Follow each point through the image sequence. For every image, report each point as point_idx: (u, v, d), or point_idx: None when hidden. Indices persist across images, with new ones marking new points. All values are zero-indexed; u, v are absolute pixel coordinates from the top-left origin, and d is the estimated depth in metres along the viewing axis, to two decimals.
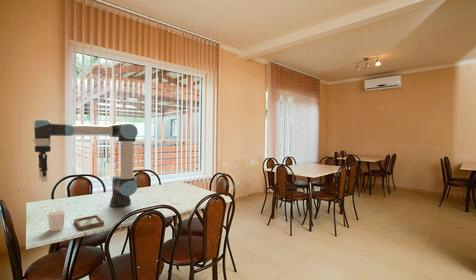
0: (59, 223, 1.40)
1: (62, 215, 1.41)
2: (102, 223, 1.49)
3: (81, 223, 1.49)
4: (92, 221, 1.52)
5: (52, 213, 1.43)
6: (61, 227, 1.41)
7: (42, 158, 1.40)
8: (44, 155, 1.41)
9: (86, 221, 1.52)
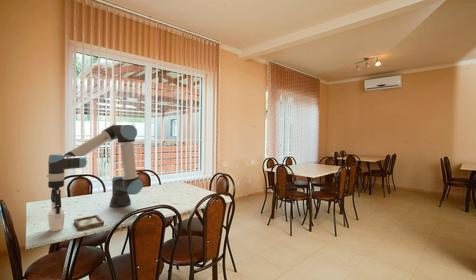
0: (59, 223, 1.40)
1: (62, 215, 1.41)
2: (102, 223, 1.49)
3: (81, 223, 1.49)
4: (92, 221, 1.52)
5: (52, 213, 1.43)
6: (61, 227, 1.41)
7: (56, 195, 1.35)
8: (58, 191, 1.36)
9: (86, 221, 1.52)
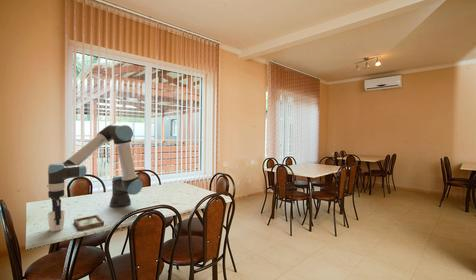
0: None
1: (62, 215, 1.41)
2: (102, 223, 1.49)
3: (81, 223, 1.49)
4: (92, 221, 1.52)
5: (52, 213, 1.43)
6: (61, 227, 1.41)
7: (56, 206, 1.36)
8: (58, 203, 1.37)
9: (86, 221, 1.52)
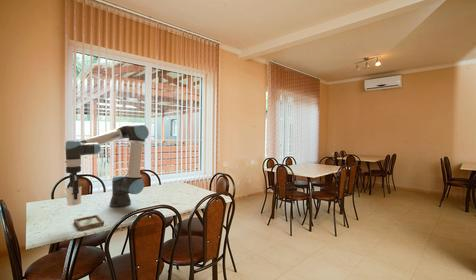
0: None
1: (79, 190, 1.46)
2: (102, 223, 1.49)
3: (81, 223, 1.49)
4: (92, 221, 1.52)
5: (69, 188, 1.47)
6: (78, 202, 1.46)
7: (74, 181, 1.41)
8: (76, 178, 1.41)
9: (86, 221, 1.52)
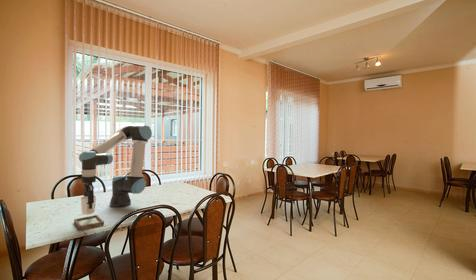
0: None
1: (94, 200, 1.50)
2: (102, 223, 1.49)
3: (81, 223, 1.49)
4: (92, 221, 1.52)
5: (84, 198, 1.51)
6: (93, 211, 1.50)
7: (89, 191, 1.45)
8: (91, 188, 1.45)
9: (86, 221, 1.52)
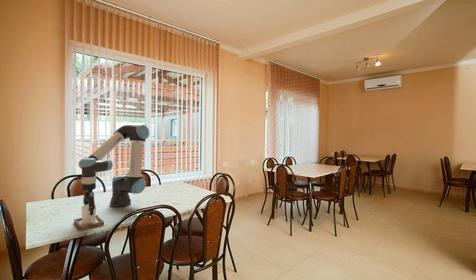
0: None
1: (94, 209, 1.50)
2: (102, 223, 1.49)
3: (81, 223, 1.49)
4: None
5: (84, 207, 1.52)
6: (93, 220, 1.50)
7: (90, 197, 1.45)
8: (92, 194, 1.45)
9: None
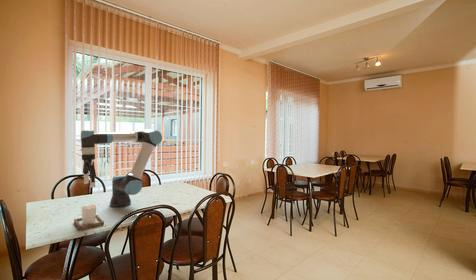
0: (92, 216, 1.49)
1: (94, 209, 1.50)
2: (102, 223, 1.49)
3: (81, 223, 1.49)
4: None
5: (84, 207, 1.52)
6: (93, 220, 1.50)
7: (90, 165, 1.53)
8: (92, 163, 1.53)
9: None
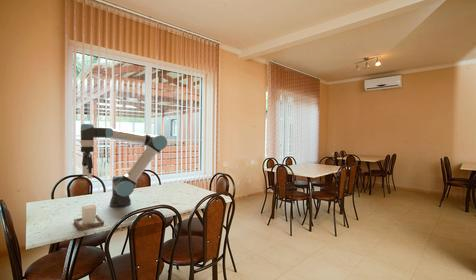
0: (92, 216, 1.49)
1: (94, 209, 1.50)
2: (102, 223, 1.49)
3: (81, 223, 1.49)
4: None
5: (84, 207, 1.52)
6: (93, 220, 1.50)
7: (88, 157, 1.60)
8: (90, 155, 1.60)
9: None
